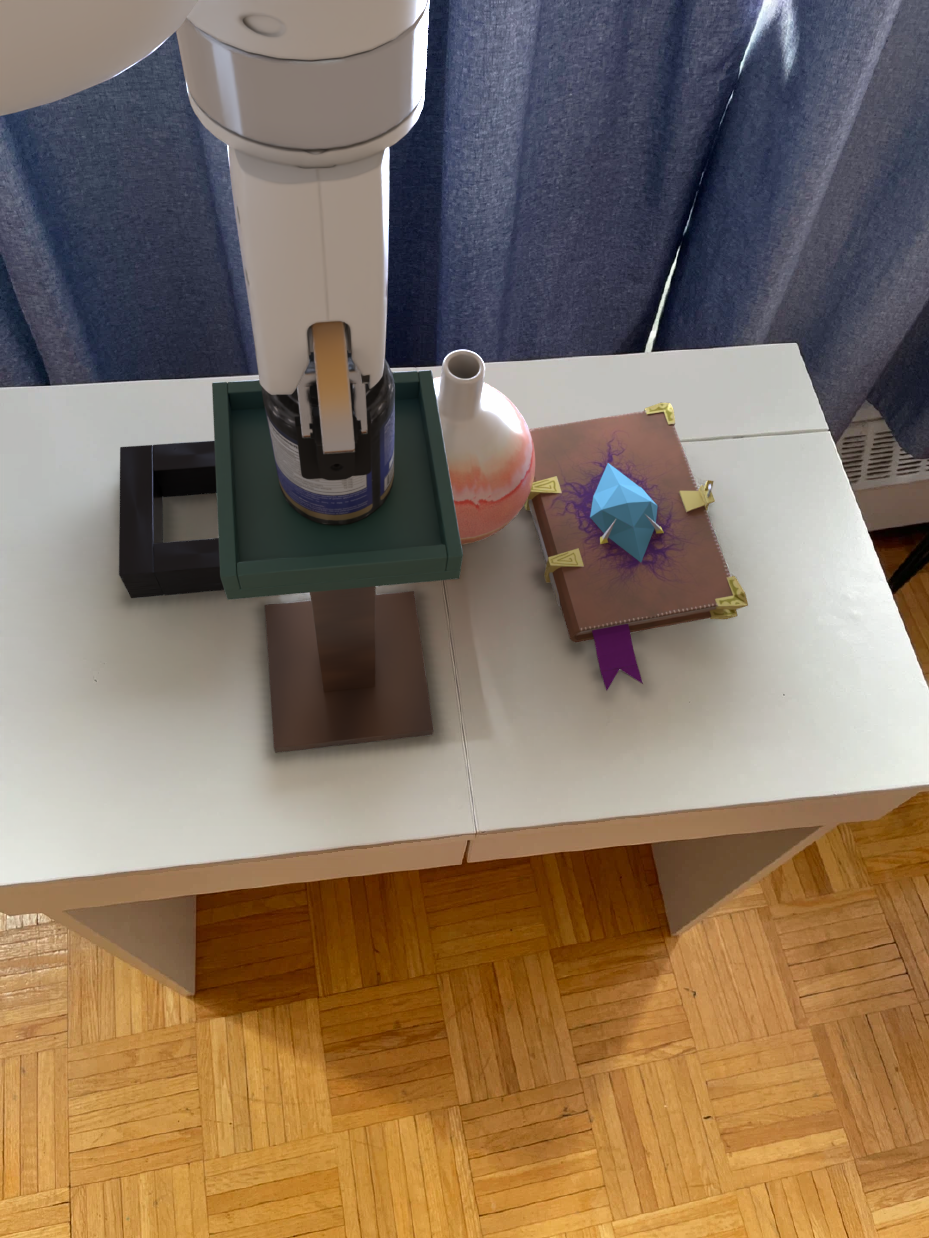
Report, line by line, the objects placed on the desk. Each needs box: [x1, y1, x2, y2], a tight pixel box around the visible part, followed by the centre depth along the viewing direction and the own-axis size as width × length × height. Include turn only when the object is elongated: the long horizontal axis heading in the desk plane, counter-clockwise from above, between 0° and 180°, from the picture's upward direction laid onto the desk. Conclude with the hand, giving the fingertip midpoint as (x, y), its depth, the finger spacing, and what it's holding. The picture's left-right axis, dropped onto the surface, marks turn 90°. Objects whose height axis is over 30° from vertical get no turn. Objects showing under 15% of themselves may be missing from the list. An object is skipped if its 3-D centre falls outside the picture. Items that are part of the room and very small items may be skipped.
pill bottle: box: [262, 350, 395, 526], centre depth 45 cm, size 6×6×11 cm
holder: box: [118, 440, 225, 599], centre depth 77 cm, size 12×12×4 cm
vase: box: [433, 349, 535, 546], centre depth 74 cm, size 14×14×18 cm
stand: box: [264, 586, 434, 754], centre depth 62 cm, size 12×12×26 cm
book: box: [523, 402, 749, 692], centre depth 79 cm, size 16×25×5 cm, turn 12°
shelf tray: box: [211, 369, 464, 601], centre depth 50 cm, size 12×12×2 cm
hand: (329, 410), depth 45 cm, fingers closed on pill bottle, 6 cm apart
